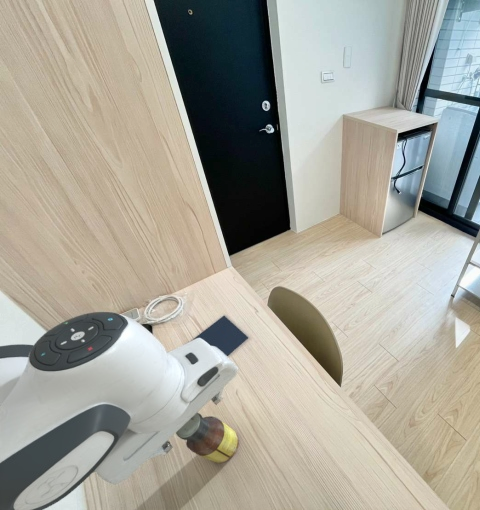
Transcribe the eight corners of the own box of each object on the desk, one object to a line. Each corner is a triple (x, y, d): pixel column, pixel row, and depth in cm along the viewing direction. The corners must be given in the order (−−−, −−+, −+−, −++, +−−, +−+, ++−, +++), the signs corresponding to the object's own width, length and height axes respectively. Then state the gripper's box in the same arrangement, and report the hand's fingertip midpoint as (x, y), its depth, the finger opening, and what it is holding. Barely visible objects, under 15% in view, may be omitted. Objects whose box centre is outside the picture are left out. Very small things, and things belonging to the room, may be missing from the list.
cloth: (198, 381, 70) (197, 381, 69) (174, 354, 75) (174, 353, 75) (248, 337, 79) (248, 337, 79) (224, 315, 84) (224, 315, 84)
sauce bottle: (231, 424, 63) (202, 393, 49) (244, 447, 60) (217, 421, 46) (204, 446, 60) (164, 420, 46) (216, 473, 56) (177, 453, 43)
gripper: (74, 491, 30) (139, 500, 39) (231, 352, 41) (251, 386, 51) (56, 448, 33) (121, 467, 42) (208, 329, 44) (231, 366, 54)
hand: (193, 422), depth 47 cm, fingers open, 8 cm apart
